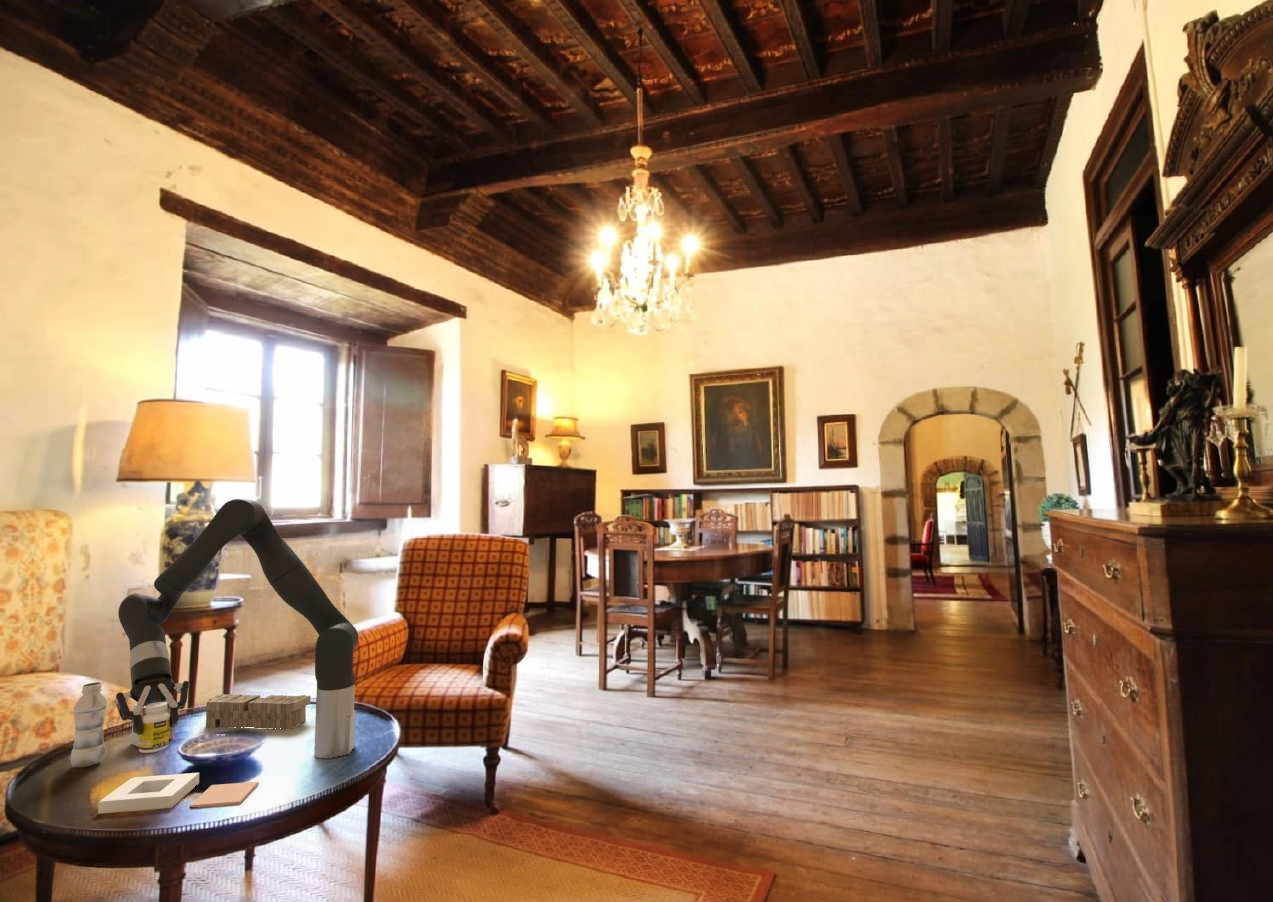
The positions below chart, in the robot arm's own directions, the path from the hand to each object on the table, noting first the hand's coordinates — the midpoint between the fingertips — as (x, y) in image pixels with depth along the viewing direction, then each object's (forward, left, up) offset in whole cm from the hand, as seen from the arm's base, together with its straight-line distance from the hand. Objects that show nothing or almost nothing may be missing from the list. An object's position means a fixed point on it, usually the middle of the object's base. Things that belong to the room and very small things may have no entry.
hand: (156, 728), depth 142 cm
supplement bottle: (+1, -1, -5) cm, 5 cm away
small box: (+20, -39, -16) cm, 47 cm away
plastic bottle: (+27, -24, -16) cm, 40 cm away
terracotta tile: (-15, +1, -15) cm, 21 cm away
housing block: (+1, -1, -15) cm, 15 cm away
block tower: (-3, -49, -16) cm, 52 cm away
